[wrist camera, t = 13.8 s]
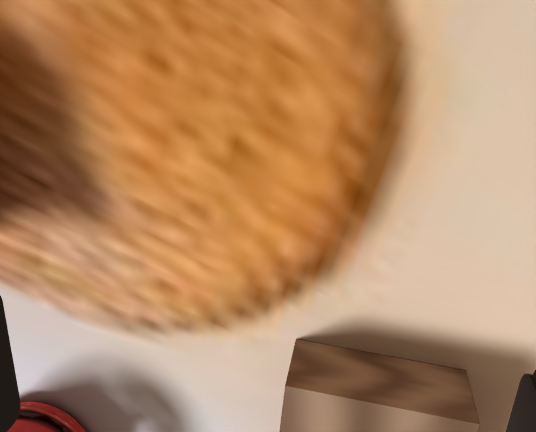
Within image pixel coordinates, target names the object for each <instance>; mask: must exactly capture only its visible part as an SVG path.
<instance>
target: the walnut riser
mask: <svg viewBox="0 0 536 432" xmlns="http://www.w3.org/2000/svg"><path fill="white" fill-rule="evenodd" d="M479 426H480V423H479V419H478V415H477V411H476V407H475V404H474V400H473V396H472V392H471V389H470V385H469V381H468V377H467V373H466V370H461V369H455V368H450V367H444V366H439V365H434V364H428V363H423V362H417V361H412V360H407V359H401V358H396V357H390V356H385V355H380V354H374V353H369V352H363V351H358V350H353V349H347V348H342V347H336V346H331V345H325V344H320V343H315V342H309V341H304V340H298V339H296V342H295V346H294V350H293V355H292V359H291V363H290V368H289V372H288V376H287V381H286V385H285V392H284V400H283V408H282V416H281V424H280V432H478V429H479Z"/></svg>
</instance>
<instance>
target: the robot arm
mask: <svg viewBox="0 0 536 432" xmlns="http://www.w3.org/2000/svg"><path fill="white" fill-rule="evenodd" d="M20 407H21V406H20V398H19V392H18V386H17V381H16V375H15V369H14V364H13V358H12V352H11V346H10V341H9V335H8V329H7V324H6V318H5V312H4V307H3V301H2V298H1V296H0V432H7V431H8V430H9V429H10V428H11V427H12V426H13V424H14V423H15V422H16V420H17V418H18V415H19V412H20ZM506 432H536V370H535V371H534V374H533V375H531V374H524V375H523V376H522V378H521V381H520V384H519V388H518V391H517V395H516V398H515V402H514V405H513V409H512V412H511V416H510V419H509V423H508V427H507V430H506Z"/></svg>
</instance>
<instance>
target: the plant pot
mask: <svg viewBox="0 0 536 432" xmlns="http://www.w3.org/2000/svg"><path fill="white" fill-rule="evenodd" d="M20 406H21V407H20V412H19V415H18V418H17V420H16V422H15V423H14V424H13V426H12V427H11V428H10V429H9V430H8V431H7V432H86V431H85V430H84V429H83V427H82V426H81V425H80V424H79V423H78V422H77V421H76V420H75V419H74V418H72V417H71V416H70V415H68V414H67V413H65V412H63V411H62V410H60V409H58V408H56V407H53V406H51V405H48V404H44V403H39V402H20Z"/></svg>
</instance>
